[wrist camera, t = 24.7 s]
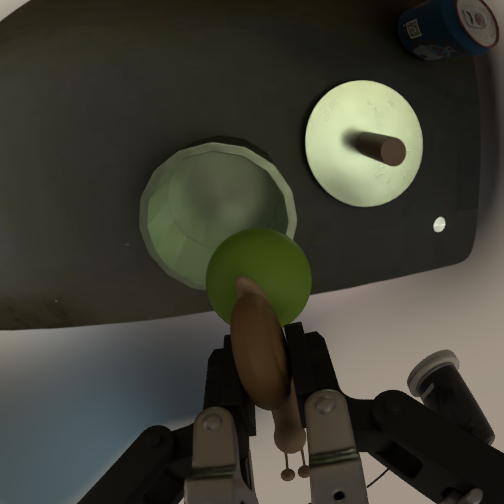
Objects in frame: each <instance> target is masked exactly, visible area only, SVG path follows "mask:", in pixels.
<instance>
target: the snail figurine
mask: <svg viewBox="0 0 504 504" xmlns="http://www.w3.org/2000/svg"><path fill="white" fill-rule="evenodd" d="M311 283H312V278H311V270H310V266H309V263H308V260H307V258H306V256H305V254H304V253H303V251H302V250H301V248H300V247H299V246H298V245H297V244H296V243H295V242H294V241H293V240H292V239H291V238H289V237H288V236H286V235H285V234H283V233H281V232H278V231H276V230H272V229H268V228H250V229H245V230H242V231H239V232H237V233H235V234H233V235H231V236H229V237H228V238H227V239H225V240H224V241H223V242H222V243H221V244H220V245H219V246H218V247H217V248H216V250H215V251H214V253H213V255H212V256H211V258H210V261H209V263H208V267H207V271H206V290H207V295H208V298H209V301H210V303H211V305H212V307H213V308H214V310H215V311H216V313H217V314H218V315H219V316H220V317H221V318H222V319H223V320H224V321H225V322H226V323H228V324H229V325H230V332H231V343H232V350H233V355H234V360H235V364H236V368H237V371H238V374H239V377H240V380H241V383H242V385H243V387H244V389H245V391H246V393H247V395H248V396H249V398H250V399H251V401H252V402H253V403H254V404H255V405H256V406H258V407H260V408H262V409H265V410H271V411H272V415H273V419H274V423H275V432H274V441H275V444H276V446H277V447H278V448H279V449H280V450H281V451H282V452H284V453H285V459H286V469H285V470H283V471H282V473H281V478H282V479H283V480H285V481H291V480H293V479H294V477H295V473H294V471H293V470H291V469H289V468H288V458H287V453H289V454H292V453H296V452H298V451H301V454H302V459H303V466H301V467H300V468H299V469H298V474H299V476H300V477H302V478H307V477H309V476H310V474H309V466H307V465H305V459H304V452H303V446H304V445H305V442H306V432H305V430H304V428H303V429H302V426H301V420H300V415H299V410H298V405H297V399H296V394H295V388H294V382H293V376H292V370H291V364H290V358H289V352H288V347H287V342H286V339H285V336H284V333H283V330H282V328H283V327H284V325H286V324H290V323H291V322H292V321H293V320H294V319H295V318H296V317H297V316H298V315H299V314H300V313H301V312H302V310H303V308H304V307H305V305H306V303H307V301H308V298H309V295H310V291H311Z"/></svg>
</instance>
